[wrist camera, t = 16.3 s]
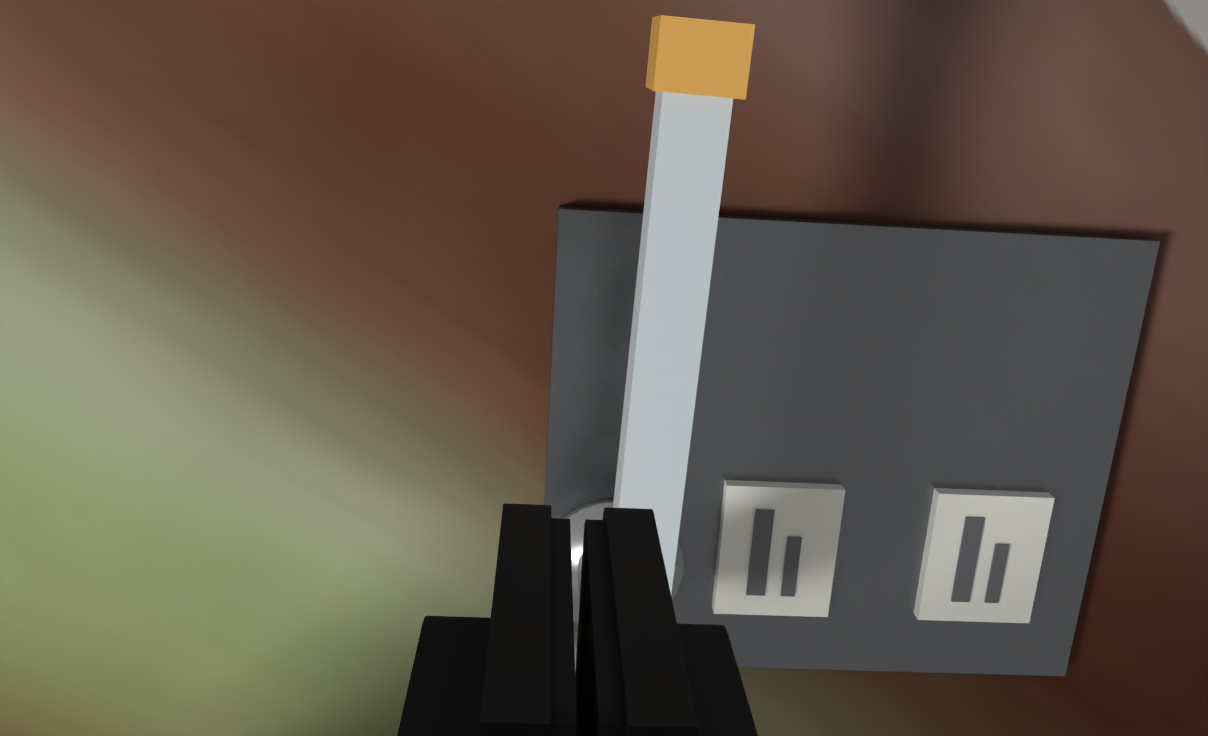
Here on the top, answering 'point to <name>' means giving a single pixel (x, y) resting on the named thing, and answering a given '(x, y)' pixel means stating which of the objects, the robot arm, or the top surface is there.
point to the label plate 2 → (982, 555)
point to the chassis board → (868, 410)
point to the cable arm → (676, 259)
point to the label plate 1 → (777, 548)
